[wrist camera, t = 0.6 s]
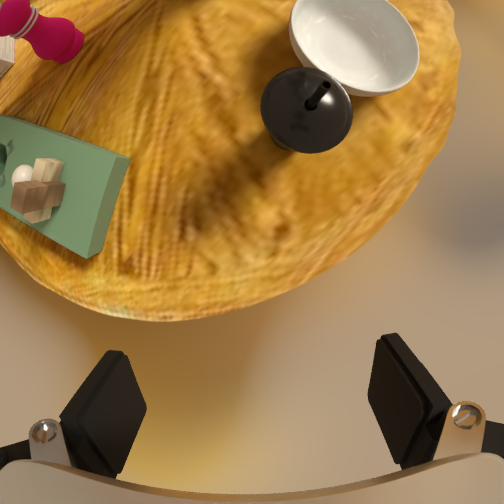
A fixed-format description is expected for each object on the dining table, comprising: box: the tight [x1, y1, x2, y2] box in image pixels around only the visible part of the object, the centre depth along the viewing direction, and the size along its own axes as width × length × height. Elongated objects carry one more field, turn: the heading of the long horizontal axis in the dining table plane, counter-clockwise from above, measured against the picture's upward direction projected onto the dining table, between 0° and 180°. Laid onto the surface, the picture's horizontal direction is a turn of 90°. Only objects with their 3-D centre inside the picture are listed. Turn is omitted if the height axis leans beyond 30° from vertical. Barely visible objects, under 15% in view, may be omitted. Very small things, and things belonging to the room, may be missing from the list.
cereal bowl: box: [289, 0, 419, 97], centre depth 27 cm, size 17×17×7 cm
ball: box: [11, 165, 33, 188], centre depth 29 cm, size 4×4×4 cm
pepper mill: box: [0, 0, 84, 63], centre depth 20 cm, size 7×7×20 cm
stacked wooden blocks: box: [10, 158, 66, 224], centre depth 27 cm, size 8×3×8 cm, turn 156°
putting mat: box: [0, 114, 131, 259], centre depth 33 cm, size 14×30×4 cm, turn 66°
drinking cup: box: [260, 67, 353, 154], centre depth 24 cm, size 8×8×20 cm
